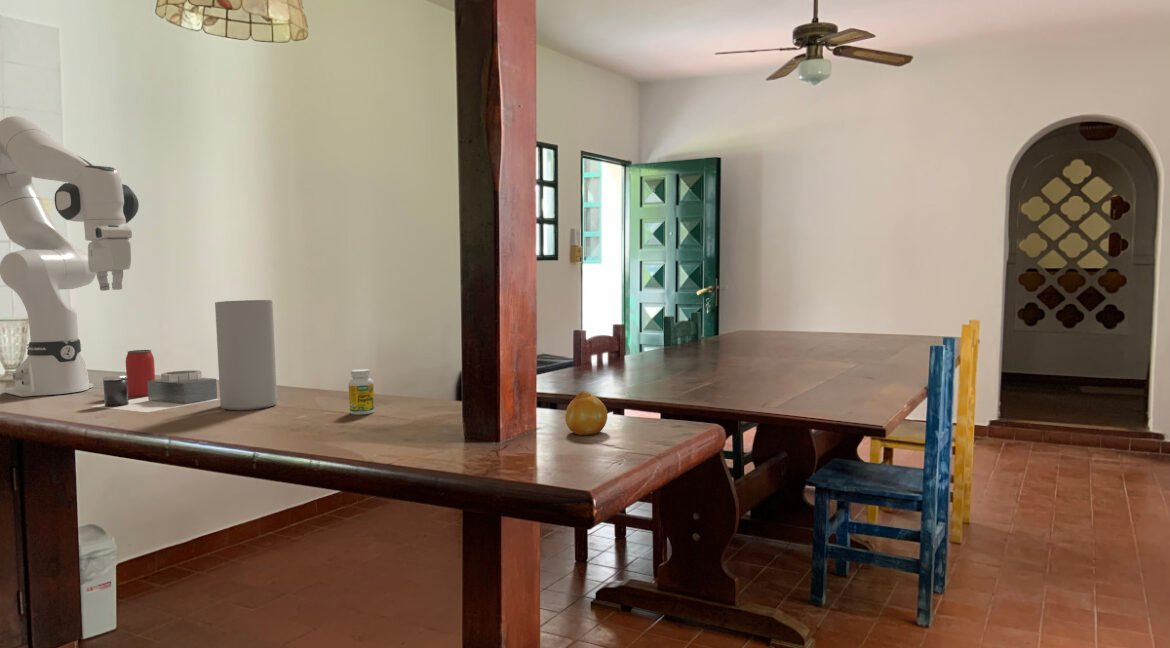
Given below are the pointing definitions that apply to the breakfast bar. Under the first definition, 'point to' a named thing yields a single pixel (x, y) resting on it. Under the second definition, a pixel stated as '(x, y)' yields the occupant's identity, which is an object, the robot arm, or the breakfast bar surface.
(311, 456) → the breakfast bar surface
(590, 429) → the fruit
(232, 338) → the cylinder vase
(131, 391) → the beer can
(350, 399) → the supplement bottle
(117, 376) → the lens
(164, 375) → the camera body
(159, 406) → the mat
